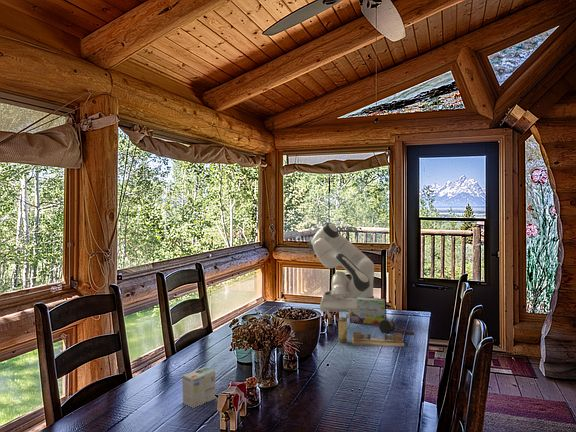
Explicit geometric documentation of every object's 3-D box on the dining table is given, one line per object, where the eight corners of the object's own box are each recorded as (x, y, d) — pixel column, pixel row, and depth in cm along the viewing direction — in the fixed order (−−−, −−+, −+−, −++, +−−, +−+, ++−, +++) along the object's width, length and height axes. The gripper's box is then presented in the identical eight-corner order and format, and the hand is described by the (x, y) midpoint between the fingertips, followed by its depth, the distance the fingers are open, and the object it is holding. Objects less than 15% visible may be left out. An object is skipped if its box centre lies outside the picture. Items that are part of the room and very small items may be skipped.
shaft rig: (352, 338, 232) (352, 330, 232) (401, 340, 229) (401, 331, 229) (352, 344, 222) (352, 336, 222) (404, 346, 219) (404, 337, 219)
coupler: (338, 339, 231) (338, 317, 230) (347, 340, 230) (346, 317, 229) (338, 342, 226) (338, 319, 225) (347, 343, 225) (347, 319, 225)
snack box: (349, 322, 265) (349, 298, 265) (350, 320, 271) (350, 296, 270) (384, 325, 259) (384, 300, 259) (385, 322, 264) (385, 298, 264)
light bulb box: (204, 394, 165) (204, 366, 165) (216, 398, 161) (216, 370, 161) (181, 404, 157) (181, 374, 157) (193, 409, 153) (193, 379, 152)
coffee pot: (377, 331, 246) (384, 330, 252) (406, 341, 234) (413, 340, 240) (380, 318, 246) (387, 317, 252) (408, 327, 234) (415, 327, 240)
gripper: (357, 300, 240) (358, 321, 229) (321, 299, 243) (319, 320, 232) (357, 293, 236) (358, 314, 225) (320, 292, 238) (319, 313, 228)
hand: (338, 317), depth 229 cm, fingers open, 8 cm apart
